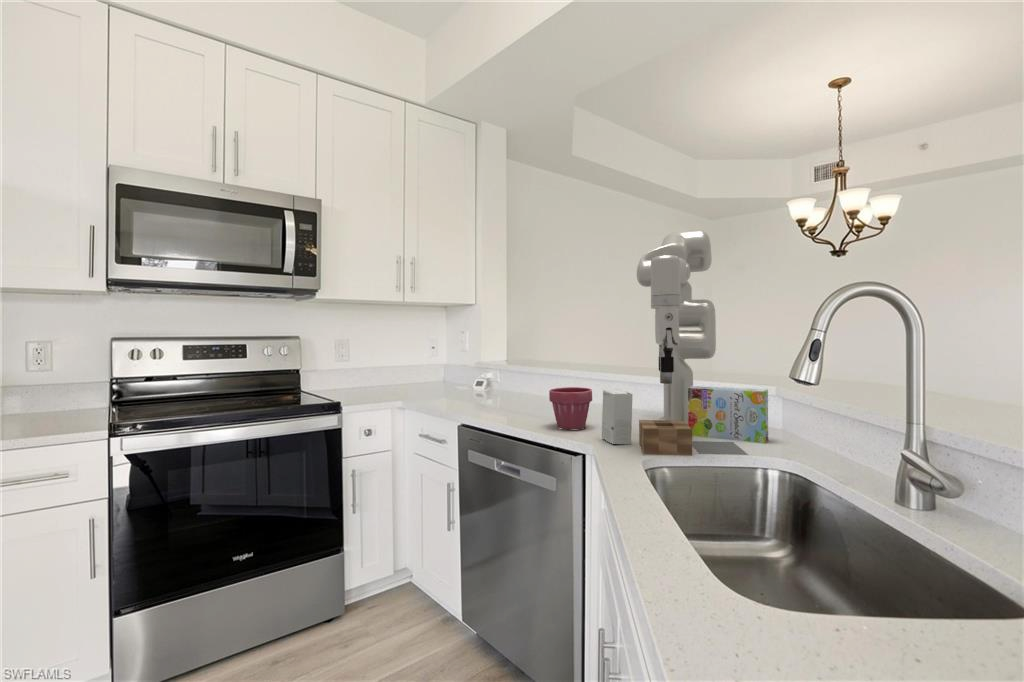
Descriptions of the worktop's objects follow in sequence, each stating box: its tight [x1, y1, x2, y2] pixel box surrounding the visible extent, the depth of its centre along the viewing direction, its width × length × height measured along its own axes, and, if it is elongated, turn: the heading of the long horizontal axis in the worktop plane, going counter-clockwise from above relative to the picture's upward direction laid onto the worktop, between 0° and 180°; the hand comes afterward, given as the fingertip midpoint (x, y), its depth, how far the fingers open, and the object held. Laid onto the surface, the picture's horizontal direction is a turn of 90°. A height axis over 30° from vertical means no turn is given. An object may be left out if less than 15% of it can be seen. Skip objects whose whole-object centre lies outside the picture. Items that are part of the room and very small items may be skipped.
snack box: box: [688, 385, 769, 444], centre depth 144 cm, size 21×6×15 cm, turn 56°
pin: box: [659, 346, 672, 385], centre depth 131 cm, size 3×3×10 cm
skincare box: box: [601, 389, 633, 445], centre depth 143 cm, size 8×6×15 cm
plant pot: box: [548, 386, 593, 430], centre depth 164 cm, size 14×14×13 cm
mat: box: [692, 440, 749, 456], centre depth 133 cm, size 14×12×1 cm
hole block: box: [638, 419, 693, 457], centre depth 132 cm, size 12×12×7 cm
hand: (666, 371), depth 131 cm, fingers closed on pin, 3 cm apart
